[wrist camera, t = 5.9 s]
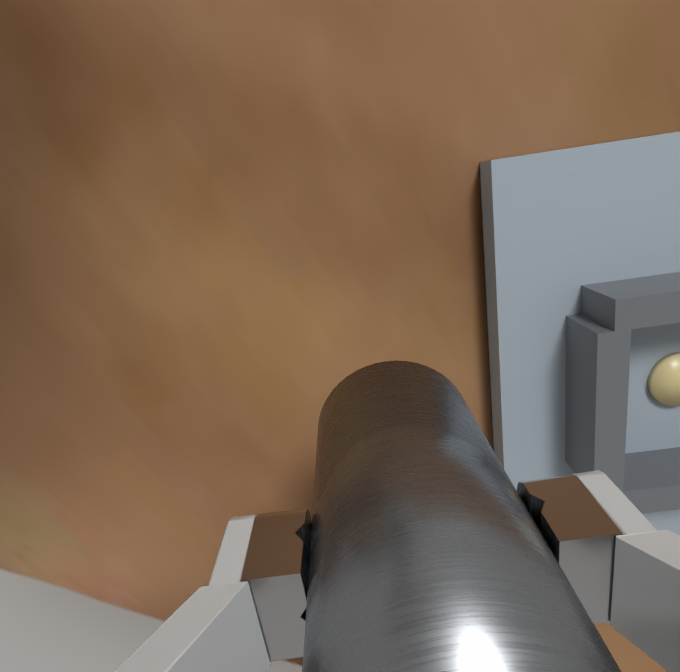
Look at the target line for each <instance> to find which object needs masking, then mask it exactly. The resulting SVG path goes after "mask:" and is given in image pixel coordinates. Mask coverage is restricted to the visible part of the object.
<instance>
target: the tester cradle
mask: <svg viewBox="0 0 680 672" xmlns="http://www.w3.org/2000/svg"><path fill="white" fill-rule="evenodd" d="M480 178H481V198H482V219H483V239H484V259H485V280H486V300H487V320H488V341H489V361H490V381H491V401H492V422H493V442H494V453H495V454H496V456H497V458H498V459H499V461H500V463H501V465H502V466H503V468H504V470H505V472H506V473H507V475H508V477H509V478H510V480H511V482H512V484H513V485H514V487H515V489H516V491H517V485H518V482H523V481H530V480H538V479H545V478H553V477H560V476H568V475H572V474H576V473H583V472H589V471H596V470H599V471H601V472H603V473H605V474H606V475H607V476H608V478H609V479H610V480H611V481H612V482H613V483H614V484H615V485H616V486H617V487H618V488H619V489H620V490H621V492H622V493H623V494H624V495H625V496H626V497H627V498H628V499H629V500H630V501H631V502H632V503H633V504H634V506H635V507H636V508H637V509H638V510H639V511H640V512H641V513H642V514H643V515H644V516H645V517H646V519H647V520H648V521H649V522H650V523H651V524H652V525H653V526H654V527H655V528H656V529H657V530H658V531H661V530H668V531H670V532H673V533H675V534H677V535H679V536H680V132H673V133H667V134H660V135H654V136H647V137H641V138H634V139H627V140H621V141H614V142H608V143H601V144H595V145H588V146H582V147H575V148H568V149H562V150H555V151H549V152H542V153H536V154H529V155H522V156H516V157H509V158H503V159H496V160H490V161H484V162H480Z"/></svg>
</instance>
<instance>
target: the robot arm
mask: <svg viewBox="0 0 680 672" xmlns="http://www.w3.org/2000/svg"><path fill="white" fill-rule="evenodd" d="M517 492H518V494H519V496H520V498H521V499H522V501H523V503H524V504H525V506H526V508H527V510H528V511H529V513H530V515H531V517H532V518H533V520H534V522H535V523H536V525H537V527H538V529H539V530H540V532H541V534H542V536H543V537H544V539H545V541H546V542H547V544H548V546H549V548H550V549H551V551H552V553H553V555H554V556H555V558H556V560H557V561H558V563H559V565H560V567H561V568H562V570H563V572H564V574H565V575H566V577H567V579H568V580H569V582H570V584H571V586H572V587H573V589H574V591H575V593H576V594H577V596H578V598H579V599H580V601H581V603H582V605H583V606H584V608H585V610H586V612H587V613H588V615H589V617H590V619H591V620H592V622H593V624H596V623H607V622H610V625H611V626H612V627H613V628H615V629H616V630H617V631H618V632H620V633H621V634H622V635H623V636H625V637H626V638H627V639H628V640H630V641H631V642H632V643H633V644H635V645H636V646H637V647H638V648H640V649H641V650H642V651H643V652H645V653H646V654H647V655H648V656H650V657H651V658H652V659H653V660H655V661H656V662H657V663H658V664H660V665H661V666H662V667H664V668H665V669H666V670H667V671H669V672H680V536H679V535H677V534H675V533H673V532H670V531H668V530H661V531H658V530H657V529H656V528H655V527H654V526H653V525H652V524H651V523H650V522H649V521H648V520H647V519H646V517H645V516H644V515H643V514H642V513H641V512H640V511H639V510H638V509H637V508H636V507H635V506H634V504H633V503H632V502H631V501H630V500H629V499H628V498H627V497H626V496H625V495H624V494H623V493H622V492H621V490H620V489H619V488H618V487H617V486H616V485H615V484H614V483H613V482H612V481H611V480H610V479H609V478H608V476H607V475H606V474H605V473H603V472H601V471H599V470H596V471H589V472H583V473H576V474H572V475H568V476H560V477H553V478H545V479H538V480H530V481H523V482H518V485H517ZM311 529H312V521H311V517H310V512H309V511H308V509H301V510H291V511H282V512H272V513H263V514H257V515H247V516H238V517H232V518H231V519H230V520H229V522H228V523H227V527H226V530H225V533H224V536H223V539H222V543H221V546H220V549H219V552H218V556H217V559H216V562H215V565H214V568H213V572H212V575H211V578H210V581H209V584H208V586H205V587H200V588H199V589H198V590H197V591H196V592H195V593H194V594H192V595H191V596H190V597H189V598H188V599H187V600H186V601H185V602H184V603H183V604H182V605H181V606H180V607H179V608H178V609H177V610H176V611H175V612H174V613H173V614H172V615H171V616H170V617H169V618H168V619H167V620H166V621H165V622H164V623H163V624H162V625H161V626H160V627H159V628H158V629H157V630H156V631H155V632H154V633H153V634H152V635H151V636H150V637H148V638H147V639H146V640H145V641H144V642H143V643H142V644H141V646H139V647H138V648H137V649H136V650H135V651H134V652H133V653H132V654H131V655H130V656H129V657H128V658H127V659H126V660H125V661H124V662H123V663H122V664H121V665H120V666H119V667H118V668H117V669H116V670H115V671H114V672H267V670H268V669H269V667H270V662H272V661H278V660H285V659H292V658H299V657H303V653H304V637H305V622H306V606H307V591H308V576H309V560H310V545H311Z"/></svg>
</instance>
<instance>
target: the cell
mask: <svg viewBox="0 0 680 672" xmlns="http://www.w3.org/2000/svg"><path fill="white" fill-rule="evenodd" d="M302 672H621V670H620V669H619V667H618V665H617V663H616V662H615V660H614V658H613V657H612V655H611V653H610V651H609V650H608V648H607V646H606V644H605V643H604V641H603V639H602V638H601V636H600V634H599V632H598V631H597V629H596V627H595V625H594V624H593V622H592V620H591V619H590V617H589V615H588V613H587V612H586V610H585V608H584V606H583V605H582V603H581V601H580V599H579V598H578V596H577V594H576V593H575V591H574V589H573V587H572V586H571V584H570V582H569V580H568V579H567V577H566V575H565V574H564V572H563V570H562V568H561V567H560V565H559V563H558V561H557V560H556V558H555V556H554V555H553V553H552V551H551V549H550V548H549V546H548V544H547V542H546V541H545V539H544V537H543V536H542V534H541V532H540V530H539V529H538V527H537V525H536V523H535V522H534V520H533V518H532V517H531V515H530V513H529V511H528V510H527V508H526V506H525V504H524V503H523V501H522V499H521V498H520V496H519V494H518V492H517V491H516V489H515V487H514V485H513V484H512V482H511V480H510V478H509V477H508V475H507V473H506V472H505V470H504V468H503V466H502V465H501V463H500V461H499V459H498V458H497V456H496V454H495V453H494V451H493V449H492V447H491V446H490V444H489V442H488V440H487V439H486V437H485V435H484V434H483V432H482V430H481V428H480V427H479V425H478V423H477V421H476V420H475V418H474V416H473V415H472V413H471V411H470V409H469V408H468V406H467V404H466V402H465V401H464V399H463V397H462V396H461V394H460V393H459V391H458V390H457V388H456V387H455V386H454V385H453V384H452V382H451V381H450V380H448V379H447V378H446V377H445V376H443V375H442V374H440V373H439V372H437V371H436V370H434V369H432V368H429V367H427V366H424V365H421V364H418V363H413V362H407V361H386V362H380V363H375V364H372V365H369V366H366V367H364V368H362V369H359V370H357V371H355V372H354V373H352V374H351V375H349V376H347V377H346V378H345V379H344V380H342V381H341V382H340V383H339V384H338V385H337V386H336V387H335V388H334V389H333V391H332V392H331V393H330V395H329V396H328V398H327V399H326V401H325V403H324V405H323V408H322V411H321V413H320V417H319V423H318V437H317V452H316V468H315V483H314V498H313V514H312V529H311V545H310V560H309V576H308V591H307V606H306V622H305V637H304V653H303V668H302Z"/></svg>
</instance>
